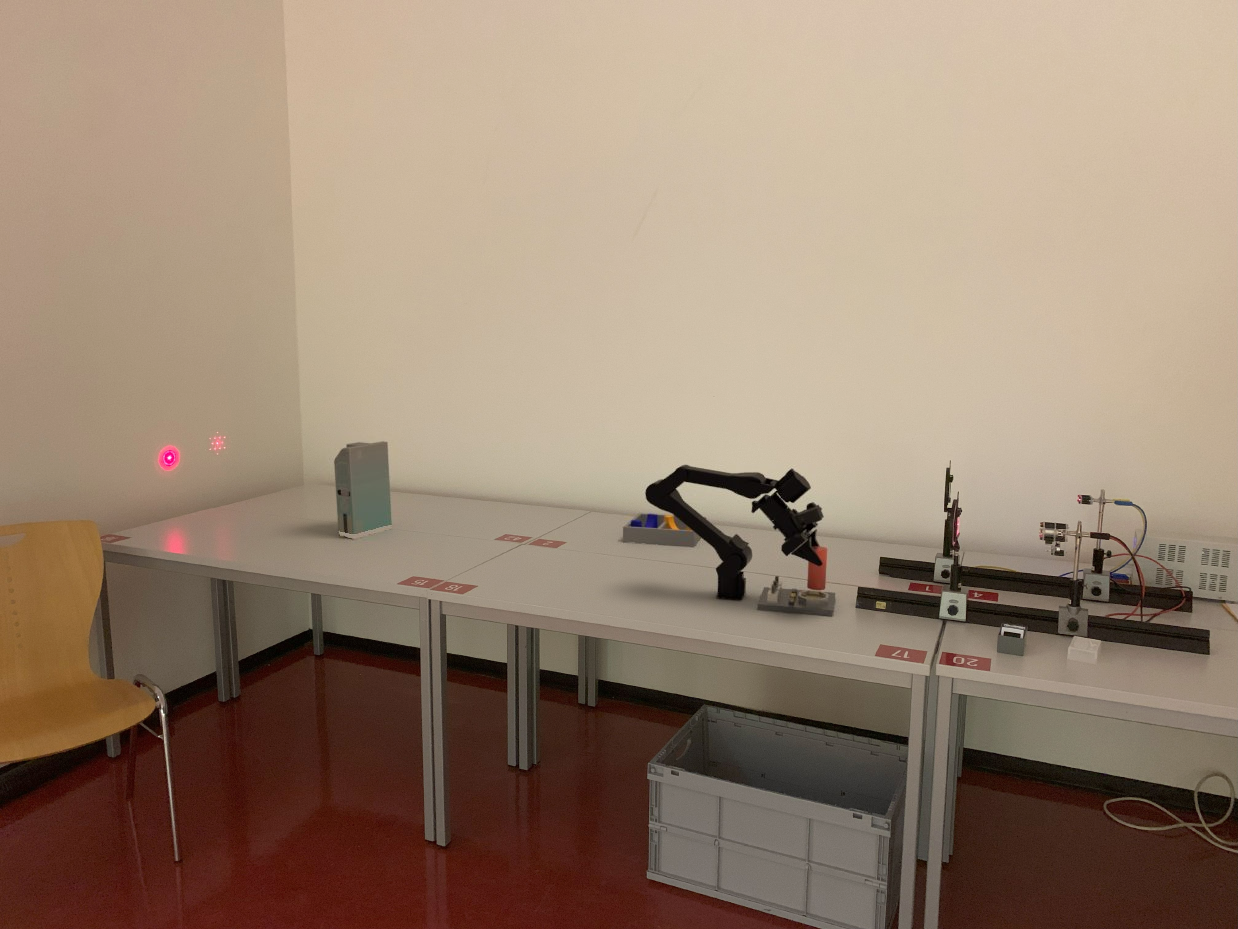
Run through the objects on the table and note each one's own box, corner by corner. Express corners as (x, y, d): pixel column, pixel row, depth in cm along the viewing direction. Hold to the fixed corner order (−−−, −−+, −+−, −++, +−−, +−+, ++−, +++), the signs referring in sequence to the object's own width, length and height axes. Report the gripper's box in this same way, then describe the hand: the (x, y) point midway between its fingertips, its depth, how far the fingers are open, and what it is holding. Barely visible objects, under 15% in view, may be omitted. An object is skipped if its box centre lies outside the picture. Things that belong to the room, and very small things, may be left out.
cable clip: (643, 540, 287) (643, 522, 286) (631, 538, 289) (631, 520, 288) (661, 532, 297) (661, 514, 296) (649, 530, 299) (649, 513, 298)
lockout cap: (806, 589, 220) (808, 550, 218) (807, 584, 224) (809, 545, 222) (824, 591, 218) (826, 551, 217) (825, 585, 223) (827, 546, 221)
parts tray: (623, 542, 284) (623, 526, 283) (639, 527, 303) (639, 513, 302) (694, 547, 277) (694, 531, 277) (706, 531, 296) (706, 517, 296)
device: (376, 526, 307) (371, 440, 302) (392, 529, 303) (387, 441, 298) (338, 536, 293) (332, 446, 288) (354, 539, 289) (349, 448, 284)
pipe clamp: (699, 541, 286) (701, 521, 285) (691, 543, 283) (692, 523, 282) (671, 533, 294) (672, 514, 293) (662, 535, 291) (663, 516, 290)
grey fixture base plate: (757, 609, 219) (757, 588, 218) (764, 592, 232) (764, 572, 231) (832, 616, 214) (833, 594, 213) (835, 598, 227) (835, 577, 226)
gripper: (797, 501, 210) (842, 552, 208) (811, 487, 227) (853, 533, 225) (762, 530, 214) (806, 580, 212) (779, 514, 231) (820, 560, 229)
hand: (823, 562), depth 219 cm, fingers closed on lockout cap, 4 cm apart
